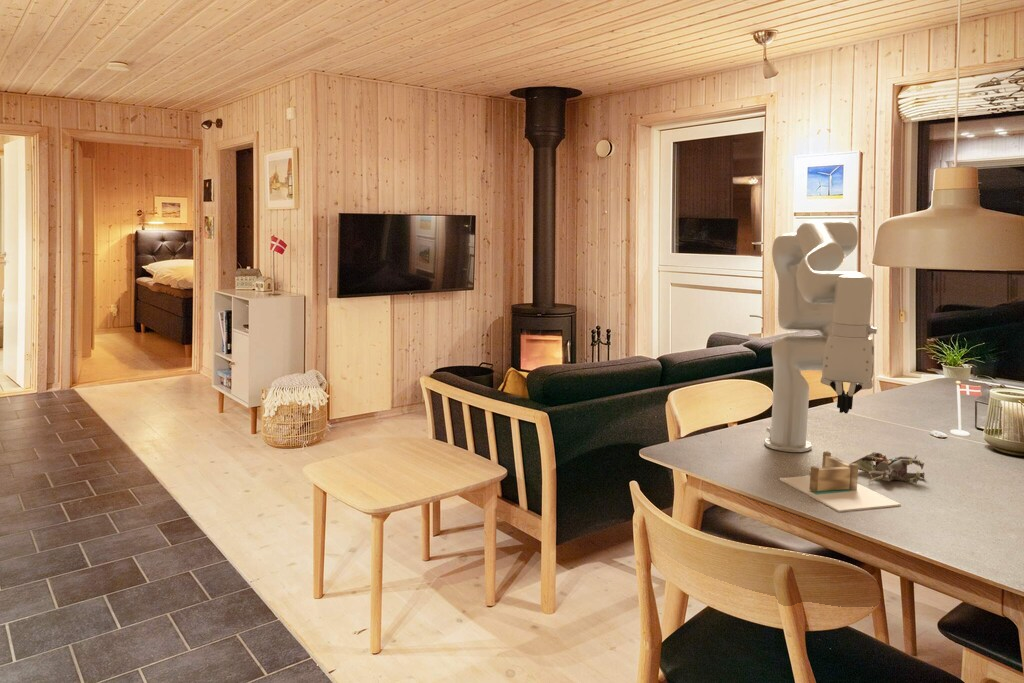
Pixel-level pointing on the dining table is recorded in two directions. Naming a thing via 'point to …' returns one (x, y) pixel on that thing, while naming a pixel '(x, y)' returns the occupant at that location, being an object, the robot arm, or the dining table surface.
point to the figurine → (889, 467)
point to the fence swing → (829, 478)
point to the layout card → (842, 496)
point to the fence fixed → (835, 462)
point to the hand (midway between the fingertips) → (844, 411)
